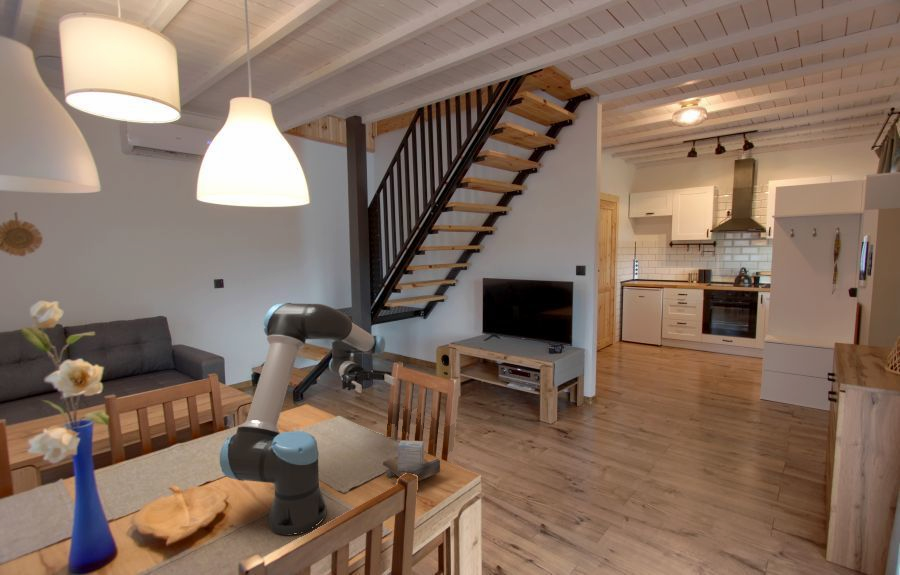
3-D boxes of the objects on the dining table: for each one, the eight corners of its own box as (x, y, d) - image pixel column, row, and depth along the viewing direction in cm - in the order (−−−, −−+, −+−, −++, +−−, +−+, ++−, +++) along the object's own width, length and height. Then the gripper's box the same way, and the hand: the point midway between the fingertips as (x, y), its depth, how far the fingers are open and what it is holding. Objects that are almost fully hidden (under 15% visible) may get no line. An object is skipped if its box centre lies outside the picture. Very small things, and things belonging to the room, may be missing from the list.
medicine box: (424, 466, 140) (424, 440, 139) (421, 473, 136) (421, 447, 135) (401, 464, 141) (400, 439, 140) (397, 471, 137) (397, 445, 136)
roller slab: (407, 493, 131) (407, 473, 130) (381, 472, 143) (381, 453, 143) (441, 478, 139) (441, 459, 138) (414, 460, 151) (413, 442, 151)
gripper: (379, 375, 178) (407, 388, 162) (322, 387, 163) (345, 403, 146) (379, 358, 177) (406, 368, 161) (321, 368, 162) (345, 381, 145)
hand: (377, 385), depth 153 cm, fingers open, 13 cm apart
